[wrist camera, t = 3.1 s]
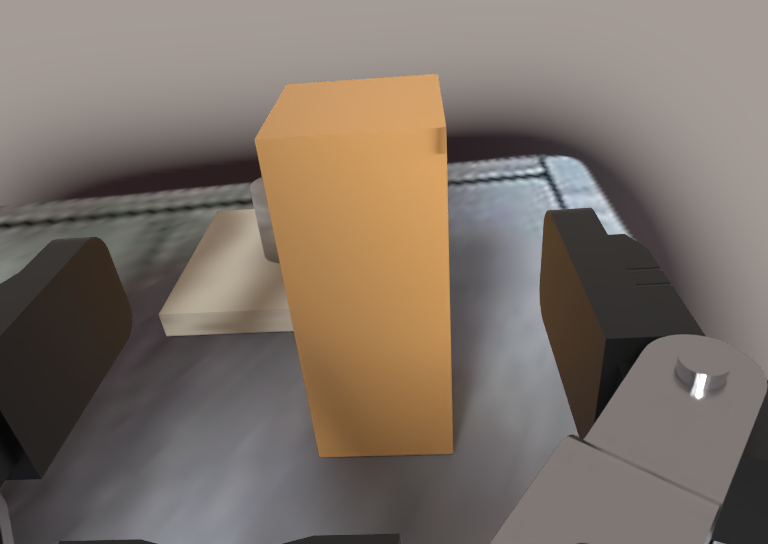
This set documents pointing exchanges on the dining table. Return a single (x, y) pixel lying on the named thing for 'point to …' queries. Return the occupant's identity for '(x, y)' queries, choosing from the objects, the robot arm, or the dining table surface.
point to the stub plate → (231, 278)
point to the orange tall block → (365, 258)
